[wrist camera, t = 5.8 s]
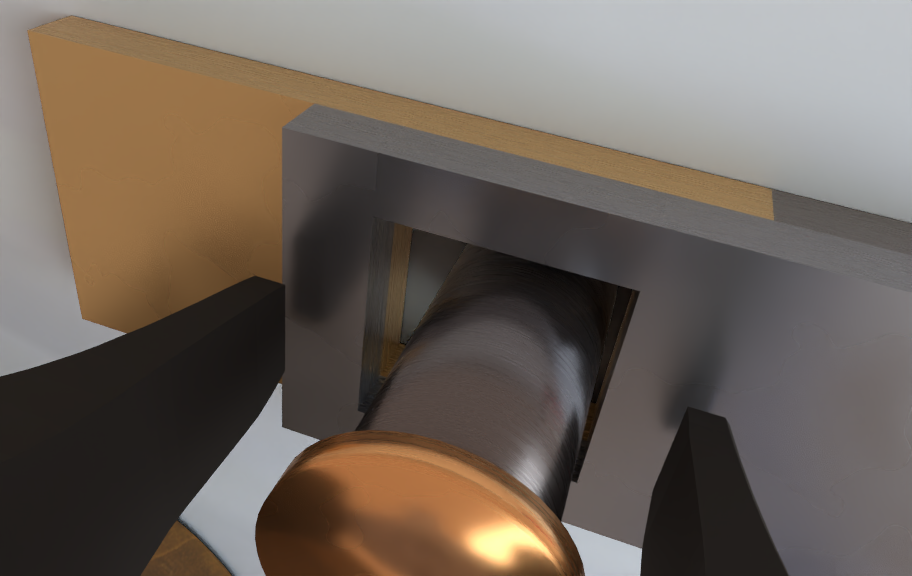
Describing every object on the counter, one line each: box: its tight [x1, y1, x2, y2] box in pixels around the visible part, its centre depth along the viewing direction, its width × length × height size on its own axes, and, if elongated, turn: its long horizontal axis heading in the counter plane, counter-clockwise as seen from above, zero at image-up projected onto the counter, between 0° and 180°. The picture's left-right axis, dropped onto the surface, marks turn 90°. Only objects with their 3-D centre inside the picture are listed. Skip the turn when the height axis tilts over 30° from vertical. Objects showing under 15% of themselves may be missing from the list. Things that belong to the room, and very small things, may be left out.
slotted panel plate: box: [27, 16, 912, 576], centre depth 15 cm, size 7×19×2 cm, turn 83°
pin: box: [255, 243, 618, 576], centre depth 13 cm, size 4×4×8 cm
